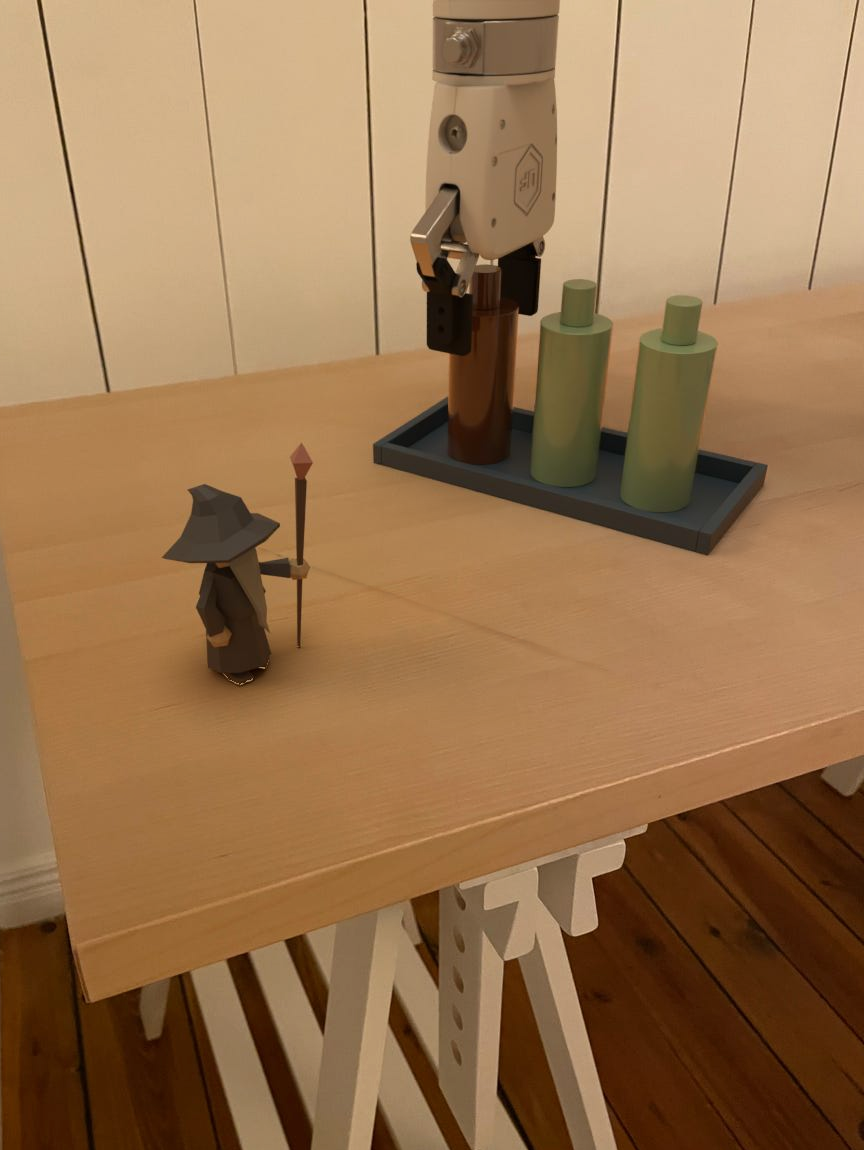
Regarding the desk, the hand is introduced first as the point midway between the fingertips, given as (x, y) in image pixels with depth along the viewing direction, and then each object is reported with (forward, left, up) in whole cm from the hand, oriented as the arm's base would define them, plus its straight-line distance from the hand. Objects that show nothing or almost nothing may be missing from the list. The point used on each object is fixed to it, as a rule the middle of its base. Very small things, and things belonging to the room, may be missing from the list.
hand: (484, 330), depth 71 cm
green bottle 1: (-7, 0, -9) cm, 11 cm away
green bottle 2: (-14, 0, -9) cm, 17 cm away
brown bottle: (0, 0, -9) cm, 9 cm away
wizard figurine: (-2, +29, -10) cm, 31 cm away
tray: (-7, 0, -10) cm, 12 cm away
